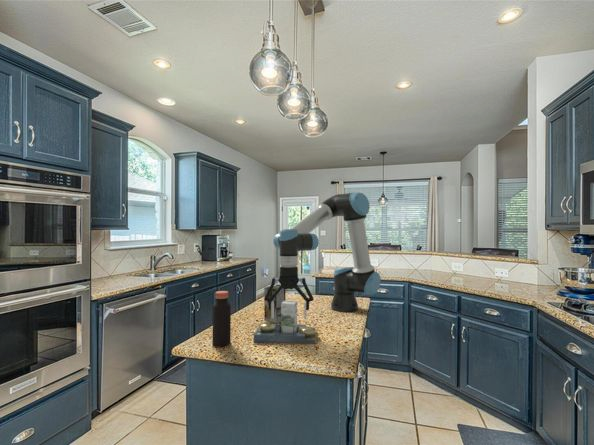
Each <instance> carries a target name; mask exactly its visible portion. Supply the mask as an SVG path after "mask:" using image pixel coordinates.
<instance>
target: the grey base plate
mask: <svg viewBox="0 0 594 445" xmlns="http://www.w3.org/2000/svg"><path fill="white" fill-rule="evenodd" d="M316 330H317V329H316V328H315V327H313V326H308V325H306V326H304V327H300V328H298V331H300V332H303V333H305V340H279V339H269V343H268V344H284V345H286V344H289V345H290V344H291V345H292V344H293V345H294V344H295V345H316ZM298 331H297V333H298ZM279 333H281V330H280V332H279Z"/></svg>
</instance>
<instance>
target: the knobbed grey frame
mask: <svg viewBox="0 0 594 445" xmlns="http://www.w3.org/2000/svg"><path fill="white" fill-rule="evenodd" d="M304 326H307V324H297V331H298V328H300V327H304ZM280 330H281V323H274V322H270V321H264V322H260V323H258V327H257V329H256V330H255V332H254V334H253V343H254V344H270V343H269V339H279V340H305V333H303V332H300V331H298V333H279V332H280Z"/></svg>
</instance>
